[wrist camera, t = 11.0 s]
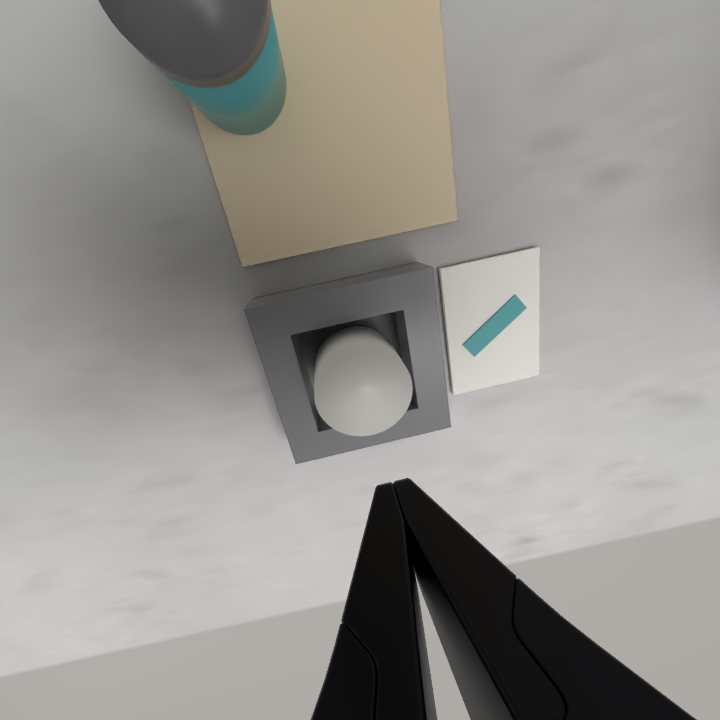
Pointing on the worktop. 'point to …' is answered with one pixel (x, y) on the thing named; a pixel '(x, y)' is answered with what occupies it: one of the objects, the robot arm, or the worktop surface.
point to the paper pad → (342, 132)
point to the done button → (360, 382)
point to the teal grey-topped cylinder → (212, 55)
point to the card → (492, 319)
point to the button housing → (341, 305)
